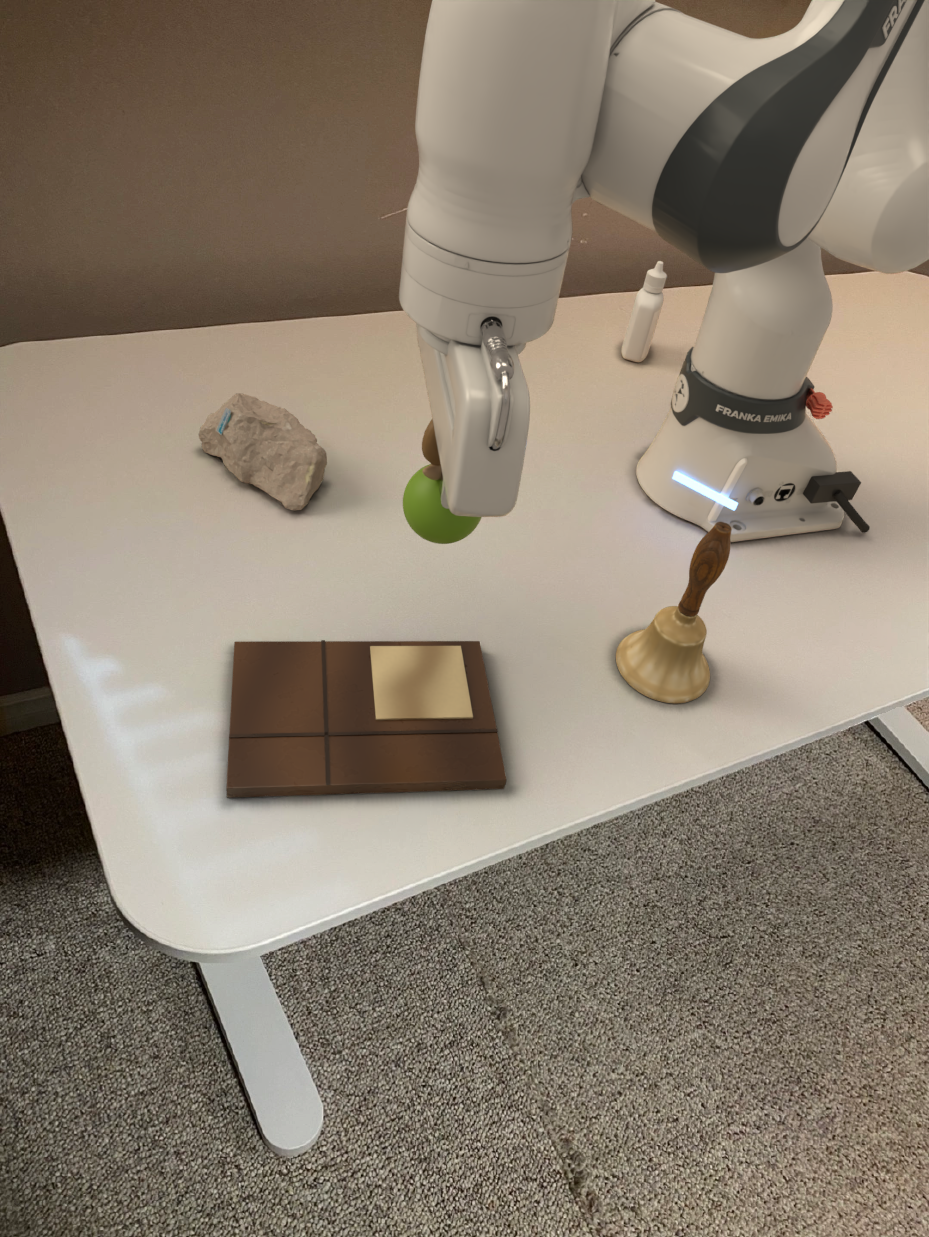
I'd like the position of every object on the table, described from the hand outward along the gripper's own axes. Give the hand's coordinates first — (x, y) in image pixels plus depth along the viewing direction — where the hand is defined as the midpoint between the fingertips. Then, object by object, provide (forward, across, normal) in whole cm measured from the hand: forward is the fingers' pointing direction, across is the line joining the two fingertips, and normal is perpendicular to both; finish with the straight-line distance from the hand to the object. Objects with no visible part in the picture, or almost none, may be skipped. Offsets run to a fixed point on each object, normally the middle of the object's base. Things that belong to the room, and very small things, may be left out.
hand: (449, 481), depth 61 cm
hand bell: (+20, +2, -22) cm, 30 cm away
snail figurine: (+5, 0, 0) cm, 5 cm away
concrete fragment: (+21, +28, +12) cm, 37 cm away
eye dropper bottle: (+20, +56, -33) cm, 68 cm away
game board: (+20, -3, +4) cm, 21 cm away
